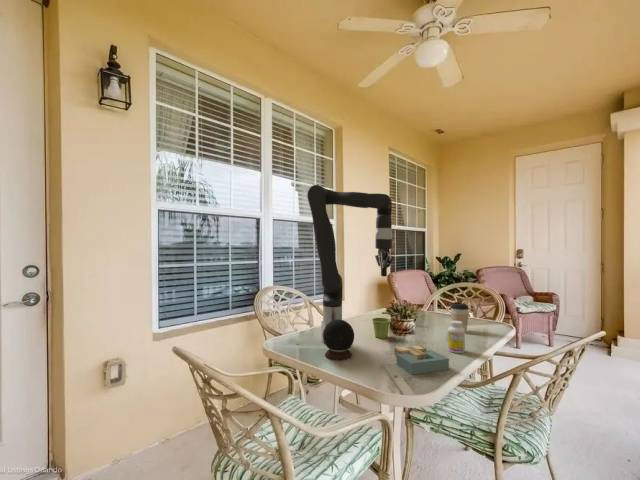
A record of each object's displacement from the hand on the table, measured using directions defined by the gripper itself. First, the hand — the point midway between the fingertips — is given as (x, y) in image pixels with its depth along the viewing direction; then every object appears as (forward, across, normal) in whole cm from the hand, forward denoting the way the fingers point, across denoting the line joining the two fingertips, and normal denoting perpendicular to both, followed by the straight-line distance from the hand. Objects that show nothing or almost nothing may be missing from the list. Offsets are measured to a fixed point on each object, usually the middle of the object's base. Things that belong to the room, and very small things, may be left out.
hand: (383, 276), depth 146 cm
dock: (+32, +25, +2) cm, 41 cm away
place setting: (+33, -22, +26) cm, 47 cm away
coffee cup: (+32, -11, +51) cm, 61 cm away
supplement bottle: (+32, +15, +27) cm, 45 cm away
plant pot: (+32, -14, +6) cm, 36 cm away
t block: (+32, +22, +1) cm, 39 cm away
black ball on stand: (+32, +5, -24) cm, 40 cm away
